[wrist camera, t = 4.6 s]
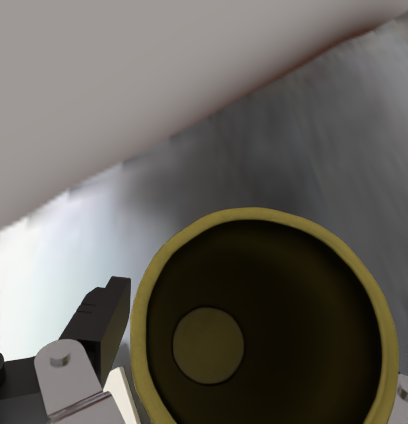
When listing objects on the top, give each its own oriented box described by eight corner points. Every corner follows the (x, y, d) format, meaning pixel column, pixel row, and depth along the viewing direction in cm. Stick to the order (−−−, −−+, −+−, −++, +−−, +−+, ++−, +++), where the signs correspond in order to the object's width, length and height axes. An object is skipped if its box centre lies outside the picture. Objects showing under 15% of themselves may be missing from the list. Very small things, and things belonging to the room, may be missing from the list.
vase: (156, 296, 20) (112, 189, 7) (250, 291, 20) (373, 183, 7) (156, 407, 17) (87, 571, 4) (263, 398, 18) (484, 519, 5)
